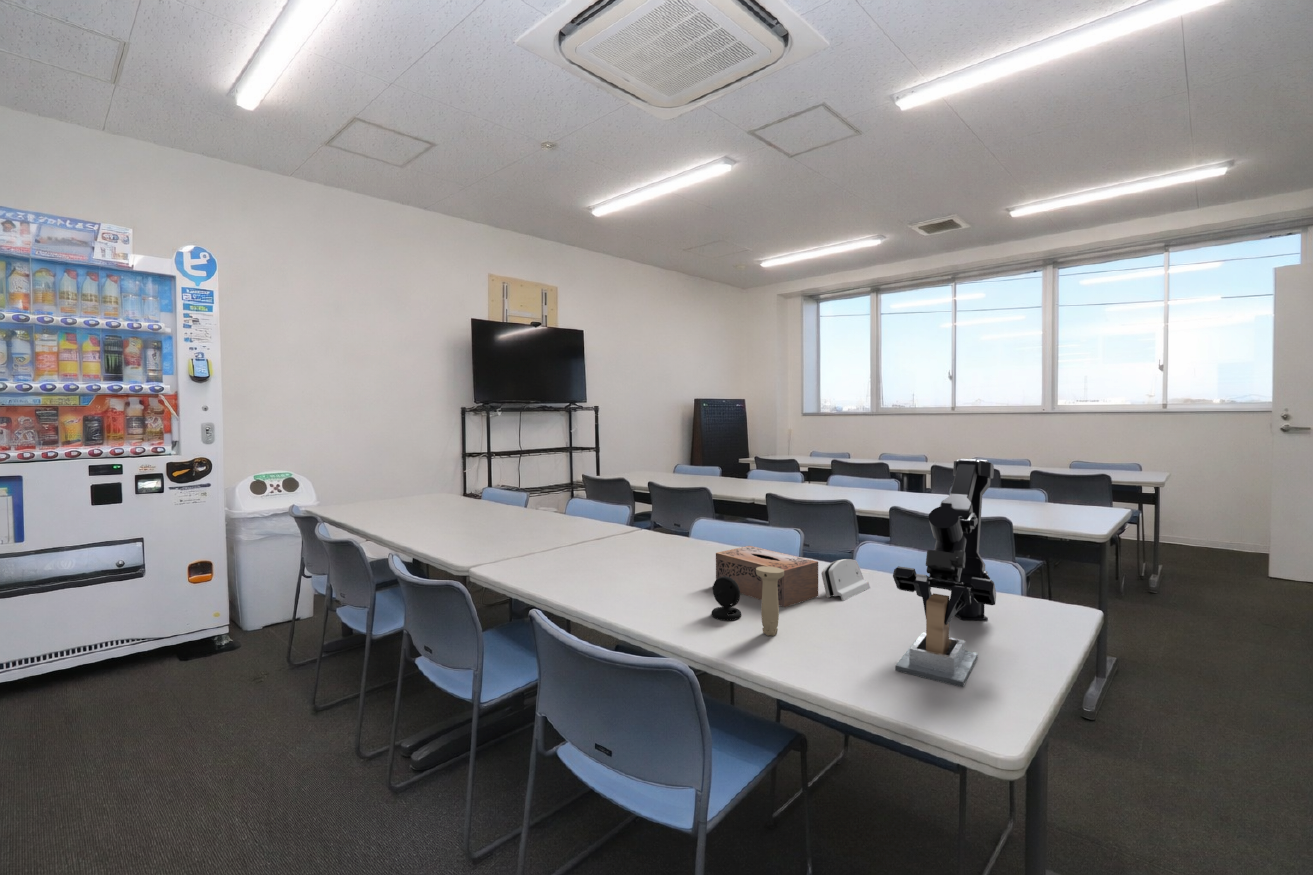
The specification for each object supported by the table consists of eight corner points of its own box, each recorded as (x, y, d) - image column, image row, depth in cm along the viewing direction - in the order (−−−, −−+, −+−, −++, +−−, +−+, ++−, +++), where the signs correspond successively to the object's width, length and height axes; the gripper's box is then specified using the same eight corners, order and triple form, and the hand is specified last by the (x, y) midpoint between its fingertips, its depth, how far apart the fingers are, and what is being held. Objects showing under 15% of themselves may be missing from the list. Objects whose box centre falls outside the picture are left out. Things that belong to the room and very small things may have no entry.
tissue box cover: (818, 597, 162) (818, 561, 161) (784, 608, 153) (784, 570, 153) (749, 577, 182) (749, 545, 182) (715, 586, 173) (715, 552, 173)
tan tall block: (933, 645, 121) (933, 593, 121) (948, 648, 119) (949, 595, 119) (926, 655, 116) (926, 601, 116) (942, 659, 114) (943, 603, 114)
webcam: (747, 615, 147) (747, 576, 147) (730, 623, 142) (730, 582, 141) (722, 608, 152) (722, 570, 152) (705, 616, 147) (704, 576, 147)
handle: (778, 640, 131) (778, 574, 130) (752, 634, 135) (752, 569, 134) (787, 633, 135) (787, 569, 134) (762, 627, 139) (761, 565, 138)
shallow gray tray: (915, 644, 128) (915, 626, 128) (977, 657, 120) (977, 638, 120) (895, 670, 115) (895, 650, 115) (963, 687, 108) (963, 665, 108)
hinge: (843, 600, 158) (831, 564, 160) (828, 603, 161) (817, 567, 163) (871, 587, 169) (860, 553, 171) (856, 589, 173) (845, 556, 175)
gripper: (895, 529, 125) (879, 592, 117) (995, 539, 114) (985, 611, 106) (905, 557, 132) (890, 619, 124) (1000, 570, 121) (991, 639, 113)
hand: (936, 621), depth 116 cm, fingers closed on tan tall block, 3 cm apart
